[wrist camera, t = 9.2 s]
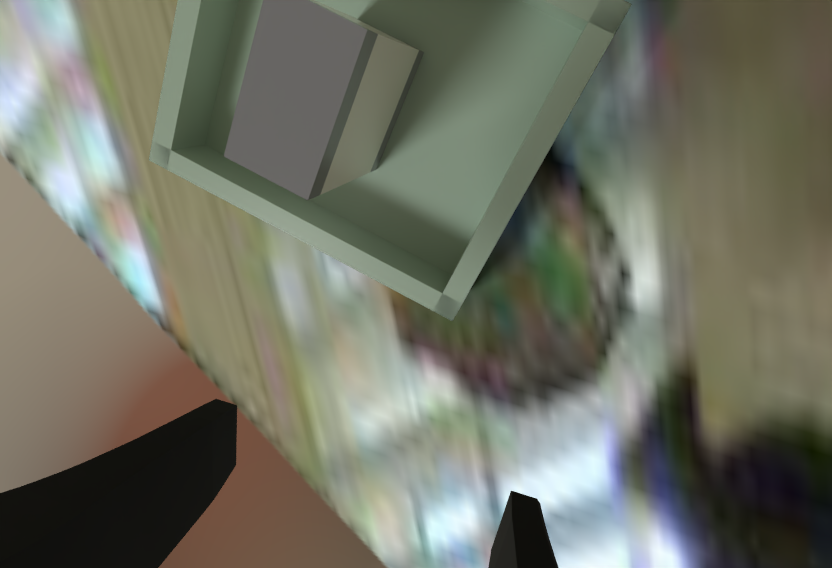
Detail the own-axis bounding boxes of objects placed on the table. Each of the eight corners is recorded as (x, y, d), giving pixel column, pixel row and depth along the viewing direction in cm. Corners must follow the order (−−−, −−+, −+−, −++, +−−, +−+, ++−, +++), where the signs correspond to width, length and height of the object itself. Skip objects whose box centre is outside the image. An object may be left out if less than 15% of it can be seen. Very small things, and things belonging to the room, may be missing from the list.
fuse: (424, 52, 16) (367, 30, 11) (376, 169, 18) (307, 200, 13) (357, 18, 16) (268, -20, 11) (317, 138, 18) (223, 156, 13)
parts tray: (617, 18, 15) (631, 3, 13) (462, 295, 20) (452, 320, 17) (261, -157, 16) (213, -200, 13) (192, 152, 20) (148, 159, 18)
